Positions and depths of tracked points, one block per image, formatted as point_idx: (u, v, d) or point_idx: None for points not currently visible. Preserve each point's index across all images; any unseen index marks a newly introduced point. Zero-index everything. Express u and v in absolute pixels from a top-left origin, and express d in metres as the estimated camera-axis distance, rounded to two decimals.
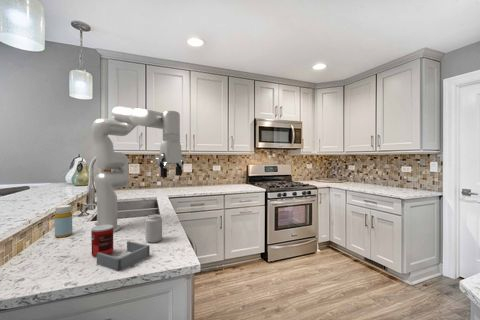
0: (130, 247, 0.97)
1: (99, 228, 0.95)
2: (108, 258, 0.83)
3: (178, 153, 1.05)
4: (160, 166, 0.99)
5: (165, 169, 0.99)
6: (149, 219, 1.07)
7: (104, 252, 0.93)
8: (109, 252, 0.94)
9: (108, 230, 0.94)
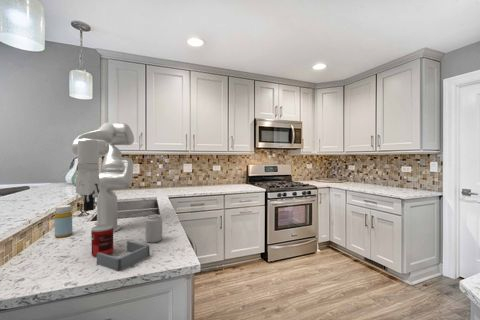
0: (130, 247, 0.97)
1: (99, 228, 0.95)
2: (108, 258, 0.83)
3: None
4: (91, 199, 0.98)
5: (93, 202, 1.00)
6: (149, 219, 1.07)
7: (104, 252, 0.93)
8: (109, 252, 0.94)
9: (108, 230, 0.94)
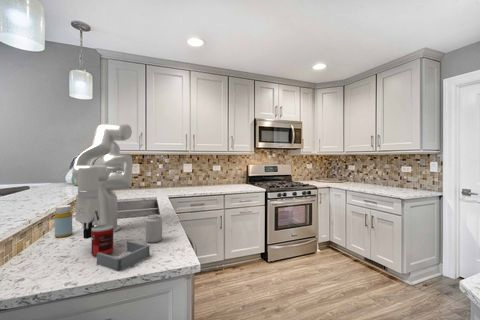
0: (130, 247, 0.97)
1: (99, 228, 0.95)
2: (108, 258, 0.83)
3: None
4: (91, 227, 0.97)
5: None
6: (149, 219, 1.07)
7: (104, 252, 0.93)
8: (109, 252, 0.94)
9: (108, 230, 0.94)
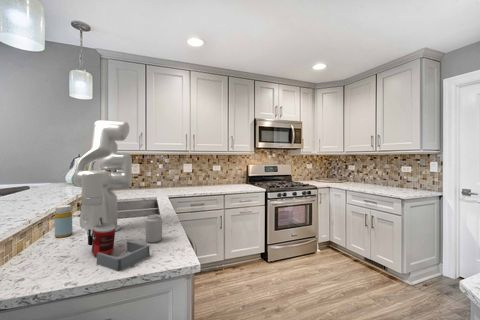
0: (130, 247, 0.97)
1: (101, 228, 0.94)
2: (108, 258, 0.83)
3: None
4: None
5: None
6: (149, 219, 1.07)
7: (104, 252, 0.92)
8: (109, 252, 0.94)
9: (110, 231, 0.93)
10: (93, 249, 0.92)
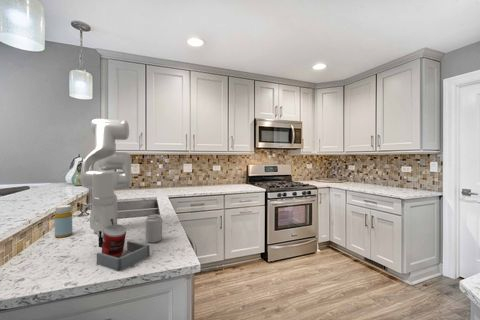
0: (130, 247, 0.97)
1: (112, 230, 0.90)
2: (108, 258, 0.83)
3: None
4: None
5: None
6: (149, 219, 1.07)
7: None
8: (118, 255, 0.91)
9: (120, 236, 0.88)
10: (102, 251, 0.89)
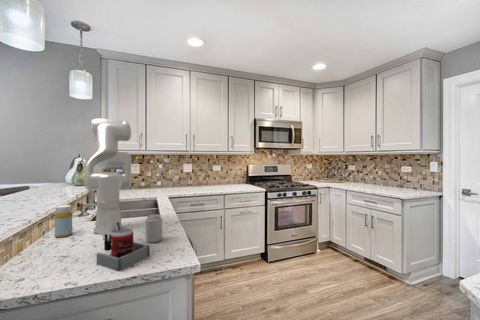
0: None
1: (119, 233, 0.89)
2: (108, 258, 0.83)
3: None
4: None
5: None
6: (149, 219, 1.07)
7: None
8: None
9: (126, 236, 0.87)
10: None
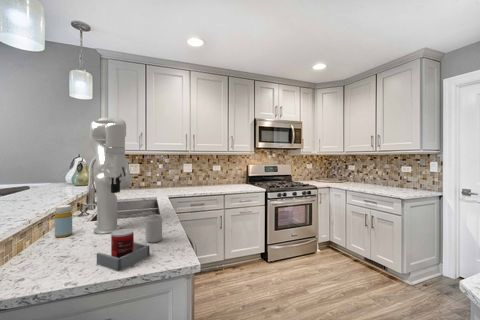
0: None
1: (119, 233, 0.89)
2: (108, 258, 0.83)
3: None
4: (118, 182, 1.02)
5: (119, 185, 1.04)
6: (149, 219, 1.07)
7: None
8: None
9: (127, 236, 0.87)
10: None
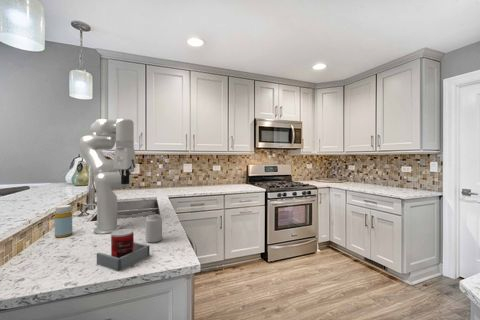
0: None
1: (119, 233, 0.89)
2: (108, 258, 0.83)
3: None
4: (128, 174, 1.08)
5: (129, 177, 1.10)
6: (149, 219, 1.07)
7: None
8: None
9: (127, 236, 0.87)
10: None
